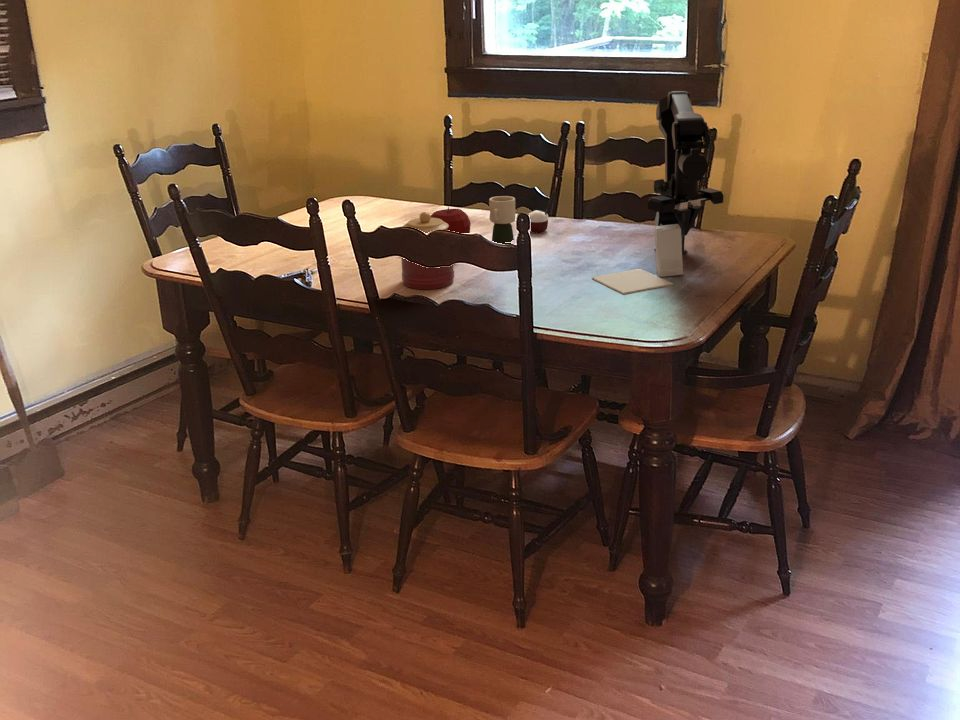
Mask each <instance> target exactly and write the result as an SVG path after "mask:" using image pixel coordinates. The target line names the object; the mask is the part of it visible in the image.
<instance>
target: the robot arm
mask: <svg viewBox="0 0 960 720" xmlns="http://www.w3.org/2000/svg"><path fill="white" fill-rule="evenodd" d="M655 111H656V112H655V119H656V121H658V129H659V131H660V132H661V133H662V135H663V137H664V159H665V160H664V177H665V178H664V179H663V178H662V179H661V178H660V179H655V180H654V181H653V192H654V193H655V194H656V195H657V194H659V195H657V196H652V197H649V198H648V201H647V209H648V210H651V211H654V212H656V214H655V219H654V227H655V226H663V225H672V224H678V225H679V226H680V228H681V240H682V255H683V254H688V251H689V250H686V249H685V239H686V237H685V236H687V235H688V234H689V232H690V230H692V226H693V224H694V222H695V221H696V219H697V217H698V216H699V215H700V213H701V212H702V211H703V210H704V209H705V207H704V206H702V205H701V204H702V203H701V202H706V201H710V203H712V205H719V204H724V202H725V201H724V198H725V197H724V196H725V195H724V194H723V191H722V190H719V189H715V188H711V187H709V188H703V189H700V188H699V187H700V186H699V185H700V181H704V180H703V178H704V176H705V174H706V173H707V171H708V166H709V165H708V160H707V159H706V158H705V156H704V155H702V150H708V149H709V146H710V144H711V136H710V129H709V125H708V123H707V121H705V119H704V116H703V115H701V114H700V113H698V112H695V111H694V108H693V106H692V99H691V97H690V92H689V91H686V90H675V91H672V90H671V92H670V91H668V92H667V96H665V97H663V98H661V99H659V100H658V102H657V106H656V110H655ZM654 252H656V250H655V248H654Z"/></svg>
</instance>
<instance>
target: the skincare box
mask: <svg viewBox="0 0 960 720" xmlns="http://www.w3.org/2000/svg"><path fill="white" fill-rule="evenodd" d="M653 230H654V232H653V233H654V246H655V248H654V249H655V250H656V251H655V263H656V264H655V266H656V273H657V275H658V277H660V278H663V277H672V276H673V277H674V276H681V275H684V272H683V271H684V270H683V269H684V268H683V267H684V266H683V264H684V263H683V254H682V240H681V228H680V226H679V225H678V224H672V225H663V226H655V225H654V227H653Z"/></svg>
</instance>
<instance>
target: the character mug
mask: <svg viewBox="0 0 960 720" xmlns="http://www.w3.org/2000/svg"><path fill="white" fill-rule="evenodd" d="M488 207H489V221H490V222H491V223H493V227H492V236H491V242H492V241H494V242H497V243H502V244H510V245H512V244H511V243H505V242H511V241H512V240H514V241H515V237H514V230H513V225H512V223H514V222H516V197H514V196H509V195H501V196H492V197H490V198H489V199H488Z"/></svg>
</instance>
